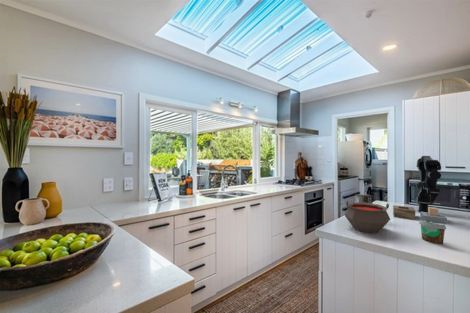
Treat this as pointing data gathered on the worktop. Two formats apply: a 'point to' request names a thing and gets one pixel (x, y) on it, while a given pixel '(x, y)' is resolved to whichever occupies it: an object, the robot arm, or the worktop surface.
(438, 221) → the frame
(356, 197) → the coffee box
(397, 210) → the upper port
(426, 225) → the food container
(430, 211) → the plug
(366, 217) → the faceted brown planter
